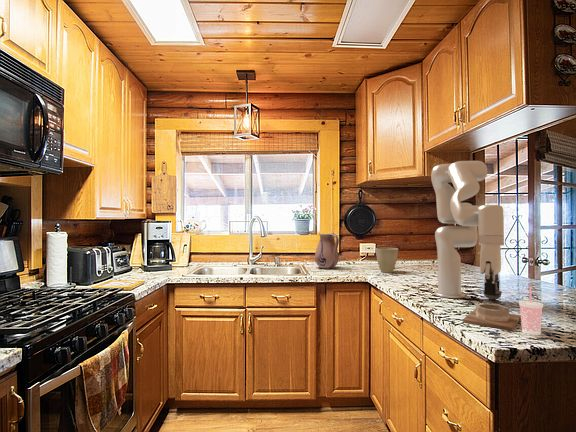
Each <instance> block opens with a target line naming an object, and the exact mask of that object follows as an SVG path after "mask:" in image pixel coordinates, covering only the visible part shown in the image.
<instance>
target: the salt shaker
mask: <svg viewBox="0 0 576 432" xmlns="http://www.w3.org/2000/svg"><path fill="white" fill-rule="evenodd" d="M490 274H493V273H490ZM491 277H492V276H491ZM497 281H498V280H497V274H496V275H495V282H494V283H495V284H496V295H495V296H493V295H485V291H484V289H482V290H481V291H482V292H483V296H484V297H485V299H483V302H485V303H486V304H496V305H500V304H502V301H501V300H499V299H500V298H501V296H502V294H503V291H501V290H500V289H499V290H500V291H499V290H498V288H497Z"/></svg>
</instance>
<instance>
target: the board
mask: <svg viewBox="0 0 576 432" xmlns="http://www.w3.org/2000/svg"><path fill="white" fill-rule="evenodd" d="M520 321H521V314H514V313H510V308H509V307H507V306H504V305H501V304H494V303H477V304H476V305H475V309H474V310H472V311H471V312H470V313H469V314H467V315H466V316H465V317H463V319H462V323H464V324H465V323H466V324H471V325H476V326H482V327H488V328H492V329H493V328H494V329H500V330H503V331H504V330H505V331H511V332H513V331H514V330H515V328H516V326H517V325H518V323H519V322H520Z"/></svg>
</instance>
